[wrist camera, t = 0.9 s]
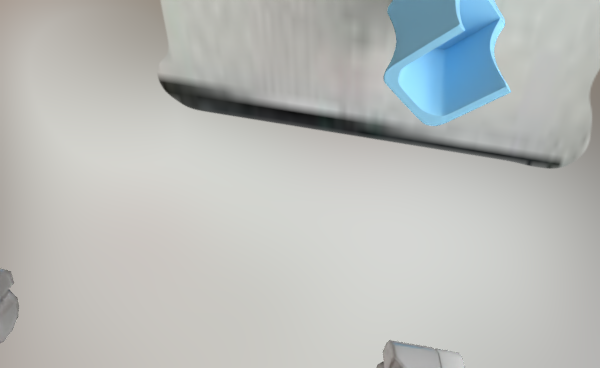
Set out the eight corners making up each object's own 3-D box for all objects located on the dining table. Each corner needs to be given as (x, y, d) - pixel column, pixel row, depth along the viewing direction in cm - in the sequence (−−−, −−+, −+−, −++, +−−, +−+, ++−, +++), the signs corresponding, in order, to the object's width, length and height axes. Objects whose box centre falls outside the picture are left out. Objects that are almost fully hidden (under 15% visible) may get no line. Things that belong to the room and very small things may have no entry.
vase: (499, -26, 50) (512, 92, 38) (435, 16, 55) (429, 131, 43) (460, -86, 47) (460, 23, 34) (395, -35, 52) (375, 75, 39)
